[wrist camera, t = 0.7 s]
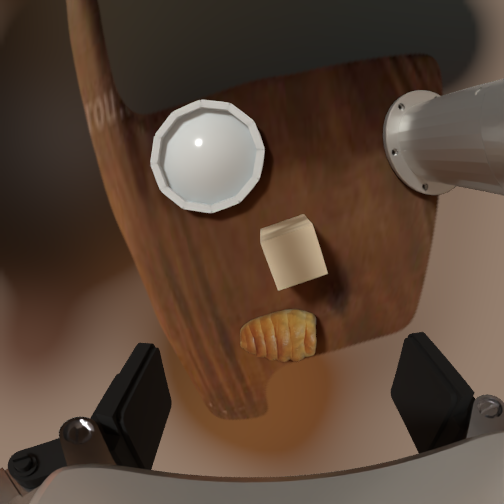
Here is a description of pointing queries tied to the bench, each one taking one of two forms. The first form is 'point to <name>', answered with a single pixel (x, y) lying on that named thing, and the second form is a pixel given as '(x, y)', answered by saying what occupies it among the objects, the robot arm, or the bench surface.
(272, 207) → the bench surface
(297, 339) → the pastry
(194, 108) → the dish
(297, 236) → the maple block
